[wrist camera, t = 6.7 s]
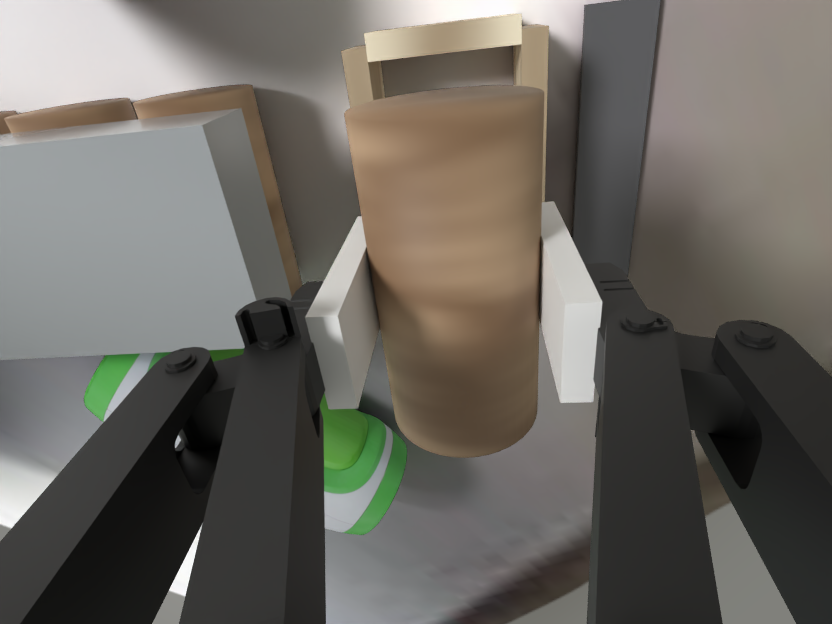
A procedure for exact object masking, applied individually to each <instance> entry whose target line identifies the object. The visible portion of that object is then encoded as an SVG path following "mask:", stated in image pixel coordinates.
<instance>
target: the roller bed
mask: <svg viewBox="0 0 832 624" xmlns="http://www.w3.org/2000/svg"><path fill="white" fill-rule="evenodd" d="M133 106H134V109H135V111H136V114H137V117H138V119H146V118H155V117H164V116H173V115H182V114H192V113H201V112H210V111H219V110H228V109H238V108H241V109H242V112H243V116H244V120H245V124H246V127H247V131H248V135H249V139H250V142H251V146H252V150H253V154H254V157H255V161H256V165H257V169H258V172H259V176H260V180H261V184H262V187H263V191H264V195H265V199H266V202H267V206H268V210H269V213H270V217H271V221H272V225H273V228H274V232H275V236H276V240H277V243H278V247H279V251H280V255H281V258H282V262H283V266H284V270H285V273H286V277H287V281H288V285H289V288H290V292H291V296H293V295H294V293H295V292H296V290H298V289H299V288H300V287H302V281H301V277H300V273H299V269H298V265H297V261H296V257H295V253H294V249H293V245H292V241H291V237H290V233H289V229H288V225H287V221H286V217H285V214H284V210H283V206H282V202H281V198H280V194H279V190H278V186H277V182H276V178H275V174H274V170H273V166H272V162H271V158H270V154H269V150H268V146H267V142H266V138H265V134H264V130H263V126H262V122H261V118H260V114H259V110H258V106H257V102H256V98H255V94H254V90H253V86H252V85H229V86H219V87H211V88H203V89H196V90H190V91H183V92H177V93H171V94H166V95H161V96H156V97H151V98H147V99H143V100H139V101H136V102H134V103H133ZM134 109H133V107H132V104H131V101H130V99H129V98H117V99H106V100H98V101H90V102H83V103H76V104H70V105H63V106H57V107H52V108H46V109H40V110H35V111H30V112H25V113H21V114H17V113H16V111H2V112H0V134H8V133H17V132H26V131H36V130H45V129H54V128H63V127H72V126H81V125H91V124H100V123H109V122H118V121H127V120H137V117H136V115H135V112H134Z"/></svg>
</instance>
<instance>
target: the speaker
mask: <svg viewBox="0 0 832 624" xmlns="http://www.w3.org/2000/svg"><path fill="white" fill-rule="evenodd" d="M209 352H210V355H211V358H212V360H213V362H214V361H218V360H222V359H227V358H231V357H235V356H238V355H242V354H243V352H244V348H243V349H222V350H209ZM170 353H171V352H160V353H139V354H119V355H106V356H105V357H104V358H103V360H102V361H101V363H100V365H99V366H98V368H97V370H96V371H95V373H94V375H93V377H92V379H91V381H90V383H89V385H88V387H87V389H86V392H85V396H84V403H85V406H86V407H87V408H88V409H89V410H90V411H91V412H92V413H93V414H94V415H95V416H96V417H98V418H99V419H100V420H101V421H103V422H105V420H106V419H107V418H108V417H109V416H110V415H111V413H112V412H113V411H114V410H115V409H116V408H117V407H118V405H119V404H120V403H121V402H122V401H123V400H124V398H125V397H126V396H127V395H128V394H129V393H130V392H131V390H132V389H133V388H134V387H135V386H136V385H137V383H138V382H139V381H140V380H141V379H142V378H143V377H144V375H145V374H146V373H147V372H148V371H149V370H150V368H151V367H152V366H153V365H154V364H155V363H156V362H157V361H159V360H160V359H161V358H162V357H164V356H166V355H168V354H170ZM320 409H321V412H322V416H323V423H324V513H325V528H326V529H329V530H333V531H337V532H342V533H348V534H357V535H364V534H366V533H368V532H370V531H371V530H372V529H373V528H374V527H375V526H376V525H377V524H378V523H379V521H380V520H381V519H382V517H383V516H384V515H385V513H386V511H387V510H388V508H389V506H390V505H391V503H392V501H393V499H394V497H395V495H396V492H397V490H398V488H399V485H400V483H401V480H402V477H403V474H404V470H405V465H406V460H407V448H406V445H405V443H404V441H403V440H402V439H401V438H400V437H399V436H398V435H397V434H396V433H395V432H394V431H393V430H391V429H390V428H389V427H388V426H387V425H385V424H384V423H383V422H382V421H381V420H379V419H378V418H376V417H374V416H371V415H368V414H365V413H362V412H360V411H358V410H356V409H328V405H327V401H326V397H325V393H324V395H323V398H322V400H321V403H320ZM180 441H181V439H180V437H179V435H178V436H177V439H176V442H175V448H176V447H177V446H178V444H179V442H180Z"/></svg>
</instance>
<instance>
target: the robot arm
mask: <svg viewBox="0 0 832 624" xmlns="http://www.w3.org/2000/svg"><path fill="white" fill-rule="evenodd" d="M235 319H236V322H237V325H238V328H239V331H240V334H241V337H242V340H243V343H244V346H245V348H244V352H243V354H242V355H238V356H235V357H231V358H227V359H222V360H218V361H214V362H213V360H212V358H211V355H210V352H209V350H207V349H205V348H203V347H189V348H182V349H178V350H175V351H173V352H171V353H170V354H168V355H166V356H164V357H162V358H161V359H160V360H159V361H157V362H156V363H155V364H154V365H153V366H152V367H151V368H150V370H149V371H148V372H147V373H146V374H145V375H144V377H143V378H142V379H141V380H140V381H139V382H138V383H137V385H136V386H135V387H134V388H133V389H132V390H131V392H130V393H129V394H128V395H127V396H126V397H125V398H124V400H123V401H122V402H121V403H120V404H119V405H118V407H117V408H116V409H115V410H114V411H113V412H112V413H111V415H110V416H109V417H108V418H107V419H106V420H105V422H104V423H103V424H102V425H101V426H100V427H99V428H98V430H97V431H96V432H95V433H94V434H93V435H92V436H91V438H90V439H89V440H88V441H87V442H86V443H85V445H84V446H83V447H82V448H81V449H80V450H79V451H78V453H77V454H76V455H75V456H74V457H73V458H72V460H71V461H70V462H69V463H68V464H67V465H66V466H65V468H64V469H63V470H62V471H61V472H60V473H59V475H58V476H57V477H56V478H55V479H54V480H53V481H52V483H51V484H50V485H49V486H48V487H47V488H46V490H45V491H44V492H43V493H42V494H41V495H40V496H39V498H38V499H37V500H36V501H35V502H34V503H33V504H32V506H31V507H30V508H29V509H28V510H27V511H26V513H25V514H24V515H23V516H22V517H21V518H20V519H19V521H18V522H17V523H16V524H15V525H14V526H13V528H12V529H11V530H10V531H9V532H8V534H7V535H6V536H5V537H4V538H3V539H2V540H1V541H0V624H152V622H153V620H154V619H155V617H156V614H157V612H158V611H159V609H160V607H161V604H162V603H163V600H164V599H165V597H166V595H167V593H168V591H169V589H170V587H171V585H172V583H173V581H174V579H175V577H176V575H177V573H178V571H179V569H180V567H181V565H182V563H183V561H184V559H185V557H186V555H187V553H188V551H189V549H190V547H191V545H192V543H193V541H194V539H195V537H196V535H197V533H198V531H199V529H200V527H201V525H202V523H203V525H202V529H201V533H200V537H199V542H198V546H197V550H196V554H195V559H194V563H193V567H192V571H191V575H190V580H189V584H188V588H187V592H186V597H185V601H184V606H183V609H182V614H181V618H180V622H179V624H326V603H325V513H324V423H323V416H322V412H321V409H320V403H321V400H322V398H323V395H324V393H325V397H326V401H327V405H328V409H358V407H359V403H360V399H361V395H362V392H363V388H364V384H365V380H366V377H367V373H368V369H369V365H370V362H371V358H372V354H373V350H374V347H375V343H376V339H377V335H378V332H379V328H380V324H379V318H378V312H377V306H376V300H375V294H374V288H373V282H372V276H371V270H370V264H369V258H368V253H367V247H366V241H365V235H364V229H363V223H362V217H361V216H358V217H357V219H356V221H355V223H354V225H353V226H352V228H351V230H350V232H349V234H348V236H347V238H346V240H345V242H344V244H343V246H342V248H341V249H340V251H339V253H338V255H337V257H336V259H335V261H334V263H333V265H332V267H331V269H330V271H329V272H328V274H327V276H326V278H325V280H324V281H319V282H307V283H306V284H305V285H303V286H302V287H300V288H299V289H298V290H296V292H295V293H294V295H293V296H292V298H291V300H288V299H286V298H280V297H272V298H264V299H261V300H257V301H254V302H252V303H250V304H247V305H245V306H244V307H243V308H241V309H240V310H239V311H238V312H237V313H236V315H235ZM539 319H540V323H541V327H542V331H543V335H544V339H545V343H546V347H547V351H548V355H549V360H550V364H551V368H552V372H553V376H554V380H555V384H556V388H557V392H558V396H559V400H560V403H576V402H593V398H594V388H595V386H596V389H597V391H598V394H599V402H598V412H597V422H596V432H595V437H596V452H595V472H594V491H593V511H592V531H591V551H590V571H589V591H588V611H587V624H723V623H722V617H721V611H720V605H719V600H718V594H717V587H716V581H715V576H714V569H713V563H712V557H711V551H710V545H709V539H708V533H707V527H706V521H705V515H704V509H703V503H702V496H701V490H700V484H699V478H698V472H697V466H696V460H695V454H694V448H693V442H692V436H691V430H695V434H696V437H697V439H698V441H699V443H700V444H701V446H702V448H703V450H704V452H705V454H706V456H707V457H708V459H709V461H710V463H711V465H712V467H713V469H714V471H715V472H716V474H717V476H718V478H719V480H720V482H721V484H722V485H723V487H724V489H725V491H726V493H727V495H728V497H729V499H730V500H731V502H732V504H733V506H734V508H735V510H736V511H737V514H738V515H739V517H740V519H741V521H742V523H743V525H744V527H745V528H746V530H747V532H748V534H749V536H750V538H751V539H752V542H753V543H754V545H755V547H756V549H757V551H758V553H759V554H760V556H761V558H762V560H763V562H764V564H765V566H766V567H767V569H768V571H769V573H770V575H771V577H772V579H773V581H774V583H775V584H776V586H777V588H778V590H779V592H780V594H781V596H782V598H783V599H784V601H785V603H786V605H787V607H788V609H789V611H790V613H791V614H792V616H793V618H794V620H795V622H796V624H832V377H831V376H830V375H829V374H828V373H827V372H826V371H825V370H824V369H823V368H822V367H821V366H820V365H819V364H818V363H817V362H816V361H815V360H814V359H813V358H812V357H811V356H810V355H809V354H808V353H807V352H806V351H805V350H804V349H803V348H802V347H801V346H800V345H799V344H798V343H797V342H796V341H795V340H794V339H793V338H792V337H791V336H790V335H789V334H787V333H786V332H784V331H783V330H781V329H779V328H777V327H774V326H772V325H769V324H767V323H763V322H759V321H753V320H750V321H745V320H738V321H731V322H727V323H725V324H723V325H721V326H719V328H718V330H717V332H716V336H715V339H714V338H706V337H699V336H691V335H686V334H681V333H678V332H674V327H673V325H672V323H671V321H670V320H669V319H667V318H666V317H664V316H663V315H661V314H659V313H656V312H653V311H650V310H647V308H646V306H645V305H644V303H643V302H642V300H641V298H640V297H639V295H638V294H637V292H636V290H635V289H634V287H633V286H632V284H631V282H629V279H628V278H627V276H626V274H625V273H624V271H623V270H622V269H620V268H618V267H617V266H615V265H613V264H612V263H610V262H608V263H592V264H584V263H583V261H582V259H581V257H580V254H579V252H578V250H577V248H576V246H575V244H574V242H573V240H572V238H571V236H570V234H569V232H568V230H567V227H566V225H565V223H564V221H563V219H562V217H561V215H560V213H559V211H558V209H557V207H556V205H555V203H554V201H551V202H542V220H541V260H540V305H539ZM690 429H691V430H690ZM178 435H179V437H180V439H181V441H180V442H179V444H178V446H177V447H176V448H175V442H176V439H177V436H178Z"/></svg>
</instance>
